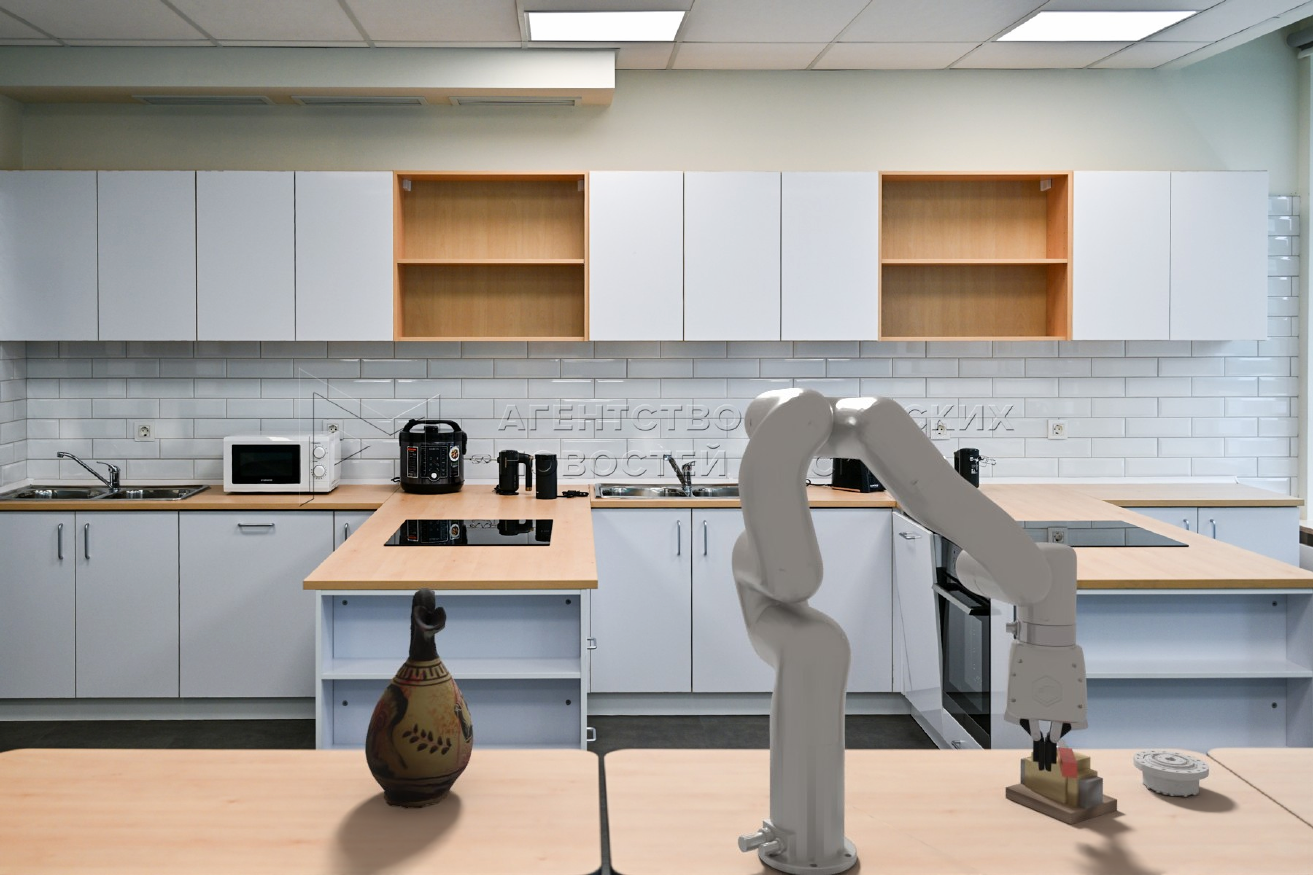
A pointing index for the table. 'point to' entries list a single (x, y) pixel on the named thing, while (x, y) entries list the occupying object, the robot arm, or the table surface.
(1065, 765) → the valve lever
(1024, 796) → the valve block
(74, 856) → the table surface
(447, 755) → the ceramic jug
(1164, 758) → the mechanical component
